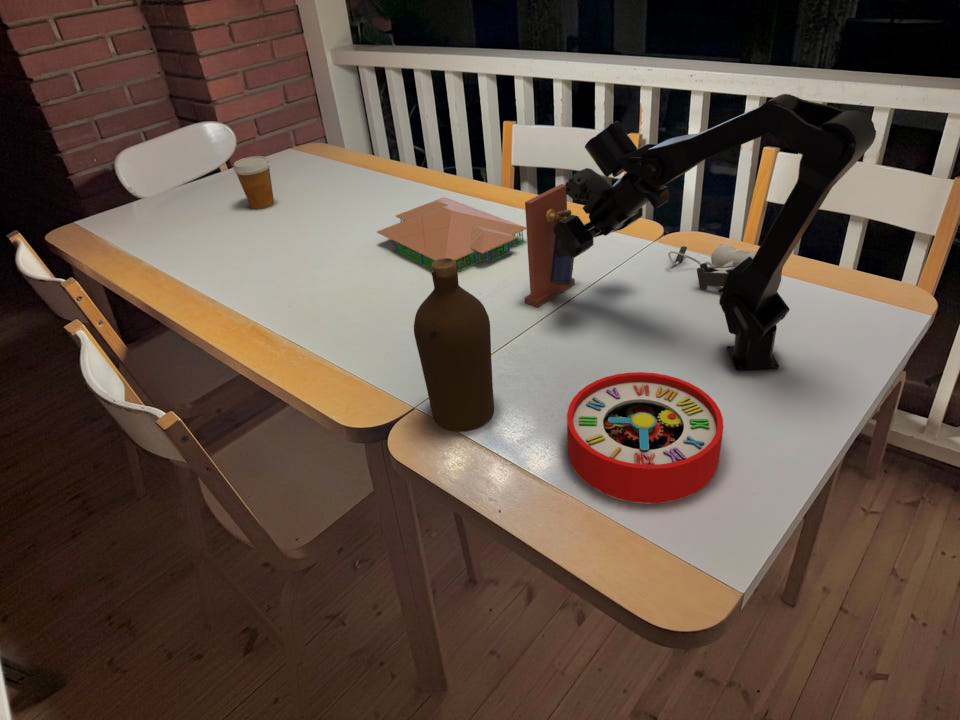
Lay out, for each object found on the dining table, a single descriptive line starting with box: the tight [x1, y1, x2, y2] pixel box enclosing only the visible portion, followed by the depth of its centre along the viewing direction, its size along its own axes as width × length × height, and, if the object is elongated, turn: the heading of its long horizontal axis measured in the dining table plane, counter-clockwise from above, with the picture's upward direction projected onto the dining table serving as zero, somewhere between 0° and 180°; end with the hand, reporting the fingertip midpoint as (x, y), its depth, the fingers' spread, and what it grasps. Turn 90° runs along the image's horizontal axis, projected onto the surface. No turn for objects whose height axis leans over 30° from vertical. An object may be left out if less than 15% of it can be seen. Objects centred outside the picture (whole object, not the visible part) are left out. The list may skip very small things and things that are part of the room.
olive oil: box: [413, 258, 495, 433], centre depth 98 cm, size 11×11×25 cm
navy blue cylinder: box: [550, 208, 575, 285], centre depth 124 cm, size 6×4×13 cm
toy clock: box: [566, 371, 724, 505], centre depth 93 cm, size 20×6×20 cm
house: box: [376, 196, 527, 273], centre depth 154 cm, size 23×33×8 cm
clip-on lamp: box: [667, 243, 757, 290], centre depth 132 cm, size 12×6×18 cm
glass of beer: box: [232, 155, 275, 210], centre depth 185 cm, size 10×10×12 cm
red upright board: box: [524, 183, 576, 308], centre depth 126 cm, size 7×11×20 cm, turn 136°
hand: (572, 245), depth 125 cm, fingers open, 9 cm apart
